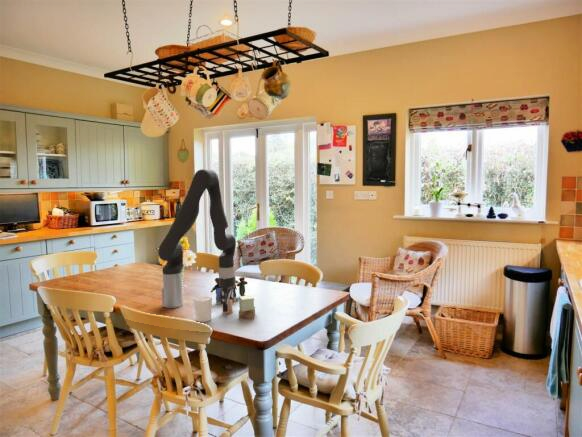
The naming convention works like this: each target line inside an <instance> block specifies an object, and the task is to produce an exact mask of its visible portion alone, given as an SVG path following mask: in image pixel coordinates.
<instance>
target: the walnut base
mask: <svg viewBox="0 0 582 437" xmlns="http://www.w3.org/2000/svg"><path fill="white" fill-rule="evenodd" d="M255 317H256V306H255V305H254V310H249V311H242V310H241V309H240V308H239V309H238V320H254V319H255Z"/></svg>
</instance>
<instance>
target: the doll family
mask: <svg viewBox="0 0 582 437" xmlns="http://www.w3.org/2000/svg"><path fill="white" fill-rule="evenodd" d="M245 279H246V277H244V276H241V277H239V278H238V280H237V279H236V278H235V285H234V296H233V302H236V301H237V300H236V299H237V292H236V291H237V287H238V289H239V290H238V293H239V296H246V295H245V293H246V286H245V285H248V281H245ZM214 281H215V285H214V286H213V287H212V289H211V290H210V293H213V292H214V291H215V304H216V305H220V304H221V299H220V292H221V291H222V290H223V287H221V286H219V277H216V278H214Z"/></svg>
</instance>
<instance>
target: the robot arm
mask: <svg viewBox="0 0 582 437" xmlns="http://www.w3.org/2000/svg"><path fill="white" fill-rule="evenodd" d="M206 190H207V191H206ZM205 191H206V192H207V193H208V196H209V216H210V220H211V225H212V227H213V242H214V245H215V247H216V249H218V250H219V251H222V253H221V254H220V255H219V256H218V278H219V286H221V287H223V290H222V291H221V292H220V299H221V303H220V304H221V305H222V304H223V308H222V313H223V312H227V311H228V304H227V303H228V300H229V299H232V307H233V306H234V301H233V296H234V285H236V283H235V279H236V274H235V267H234V264H235V263H234V262H235V261H234V256H235V253H236V252H235V251H236V247H237V246H236V244H237V241H236V238H235V236H234V235H233V234H231V233H226V230H227V229H228V228H229V224H228V220H227V216H226V213H225V209H224V205H223V199H222V194H221V193H222V192H221V186H220V179H219V175H218V173H217V172H216V171H215V170H214V169H205V168H204V169H203V168H202V169H201V168H200V169H198V170H197V171H196V172H195V174H194V175H193V178H192V180H191V183H190V187H189V189H188V192H187V193H186V195H185V197H184V200H183V202H182V204H181V206H180V207H179V210H178V211H177V214H176V216H175V218H174V220H173V222H172V224H171V226H170V228H169V231H168V232H167V233H166V235H165V237H164V239H163V240H162V242H161V243H160V245H159V247H158V251H157V252H158V256H159V259H160V260H162V261H166V263H165V265H163V267H162V283H163V284H162V288H161V300H162V301H161V302H162V303H161V304H162V306H161V307H163V308H167V309H175V308H180V307H182V306H183V305H184V303H183V300H184V298H183V282H182V280H183V279H182V277H183V276H182V268H183V266H184V263H183V262H184V260H183V259H184V250H183V246H182V243H180V241H181V239H182V238H183V237H184V236H185V235H186V234H187V233H188V232H189V231H190V230H191V229H192V227H193V226H194V224H195V222H196V220H197V218H198V216H199V214H200V200H201V198H202V196H203V194H204V192H205ZM224 300H225V301H224Z"/></svg>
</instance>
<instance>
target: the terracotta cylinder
mask: <svg viewBox="0 0 582 437" xmlns="http://www.w3.org/2000/svg"><path fill="white" fill-rule="evenodd" d="M224 301H225V300H224ZM227 304H228V311H227V312H223V311H222V314H223V315H224V314H225V315H229V314H233V310H234V309H233V306H232V299H229V300H228V303H227ZM221 305H222V309H223V304H221Z"/></svg>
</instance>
